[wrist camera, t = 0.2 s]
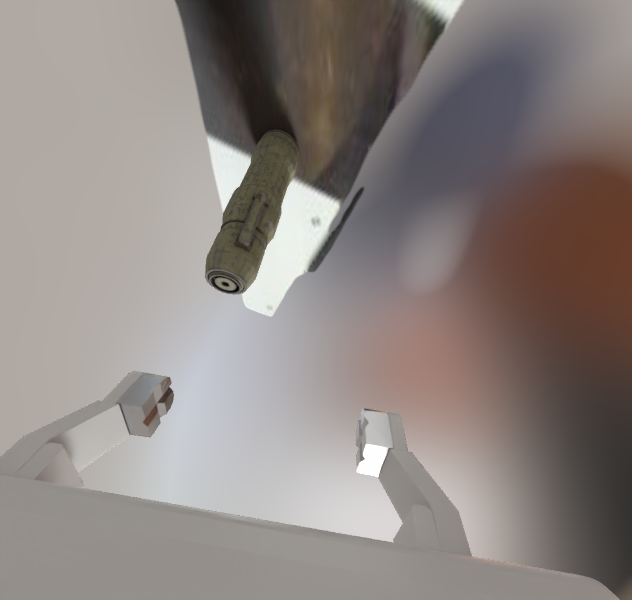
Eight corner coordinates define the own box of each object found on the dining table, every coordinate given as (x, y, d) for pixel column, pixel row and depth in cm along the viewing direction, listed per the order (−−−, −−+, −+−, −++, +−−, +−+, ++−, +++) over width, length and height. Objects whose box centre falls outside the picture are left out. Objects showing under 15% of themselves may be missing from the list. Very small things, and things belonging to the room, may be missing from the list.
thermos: (253, 165, 63) (193, 294, 44) (265, 113, 53) (194, 249, 34) (290, 182, 65) (248, 311, 46) (308, 134, 55) (263, 273, 37)
